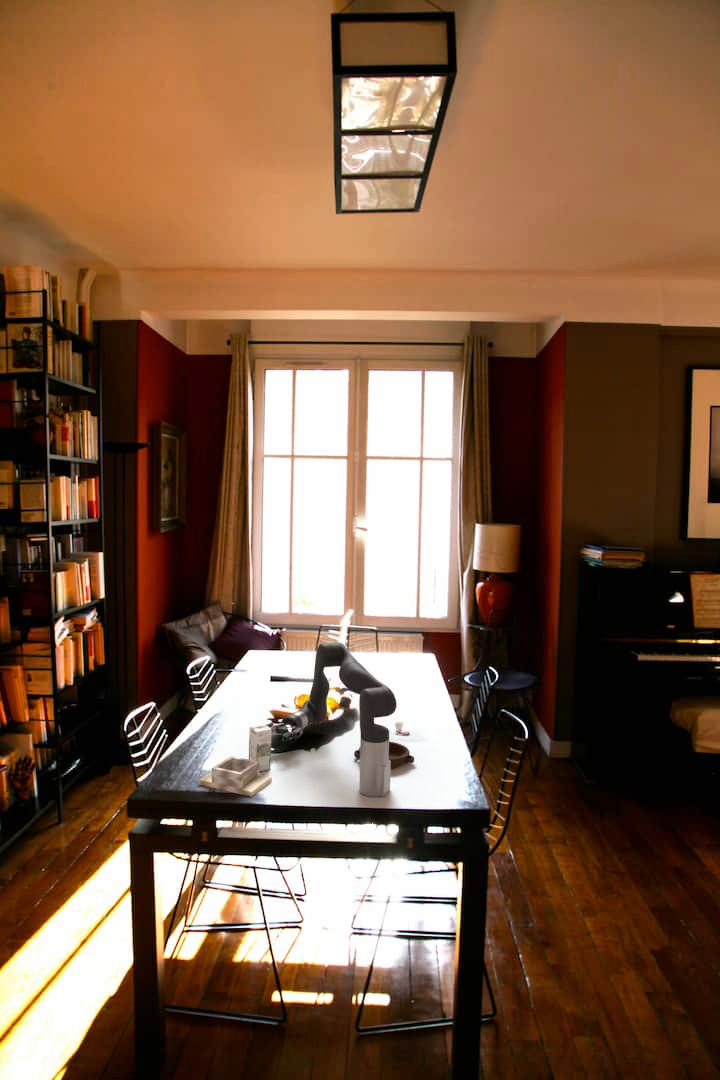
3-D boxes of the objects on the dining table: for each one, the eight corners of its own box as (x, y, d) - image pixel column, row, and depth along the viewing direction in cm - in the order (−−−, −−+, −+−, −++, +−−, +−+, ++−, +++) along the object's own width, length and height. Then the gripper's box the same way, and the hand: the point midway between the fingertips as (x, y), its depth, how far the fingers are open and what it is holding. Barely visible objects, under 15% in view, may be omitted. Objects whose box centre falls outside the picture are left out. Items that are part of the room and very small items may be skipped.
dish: (411, 776, 205) (412, 761, 205) (348, 769, 209) (349, 755, 209) (416, 756, 222) (416, 743, 222) (358, 751, 226) (358, 738, 226)
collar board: (271, 781, 198) (272, 763, 198) (251, 796, 187) (252, 777, 187) (221, 770, 206) (221, 753, 205) (199, 784, 194) (199, 766, 194)
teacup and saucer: (412, 735, 244) (412, 726, 244) (393, 737, 243) (393, 727, 242) (405, 728, 253) (406, 718, 253) (387, 729, 251) (387, 719, 251)
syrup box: (263, 764, 212) (263, 723, 211) (270, 769, 207) (271, 728, 207) (248, 767, 208) (248, 726, 208) (256, 773, 204) (256, 731, 203)
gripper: (278, 711, 233) (255, 723, 218) (311, 716, 227) (290, 729, 212) (278, 730, 233) (255, 744, 218) (310, 736, 228) (289, 750, 213)
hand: (272, 736), depth 215 cm, fingers open, 8 cm apart
